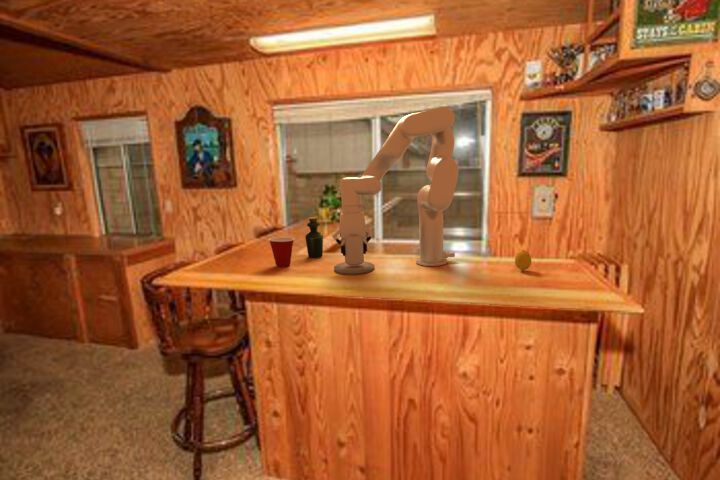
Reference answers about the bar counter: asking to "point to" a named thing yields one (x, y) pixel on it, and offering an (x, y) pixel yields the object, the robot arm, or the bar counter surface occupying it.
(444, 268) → the bar counter surface
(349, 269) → the dish
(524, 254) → the lemon
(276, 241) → the plastic cup
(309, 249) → the potion bottle
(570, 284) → the bar counter surface
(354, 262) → the can
